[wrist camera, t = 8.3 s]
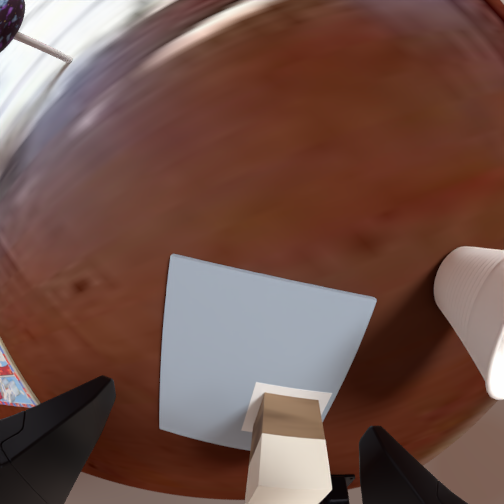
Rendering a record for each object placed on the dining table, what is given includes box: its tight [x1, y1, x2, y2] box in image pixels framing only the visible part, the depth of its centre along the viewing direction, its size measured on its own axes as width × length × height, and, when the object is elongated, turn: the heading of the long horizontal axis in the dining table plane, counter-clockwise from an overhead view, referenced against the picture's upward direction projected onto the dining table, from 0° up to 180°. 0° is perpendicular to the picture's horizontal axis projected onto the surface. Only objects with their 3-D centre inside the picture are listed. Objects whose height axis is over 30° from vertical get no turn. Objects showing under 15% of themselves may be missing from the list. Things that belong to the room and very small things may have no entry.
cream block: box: [245, 433, 332, 504], centre depth 16 cm, size 5×5×5 cm
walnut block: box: [249, 392, 325, 464], centre depth 21 cm, size 5×5×5 cm
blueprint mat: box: [159, 254, 377, 451], centre depth 23 cm, size 20×16×1 cm
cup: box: [434, 246, 504, 400], centre depth 14 cm, size 10×10×11 cm
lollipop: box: [0, 0, 73, 63], centre depth 10 cm, size 7×7×15 cm
